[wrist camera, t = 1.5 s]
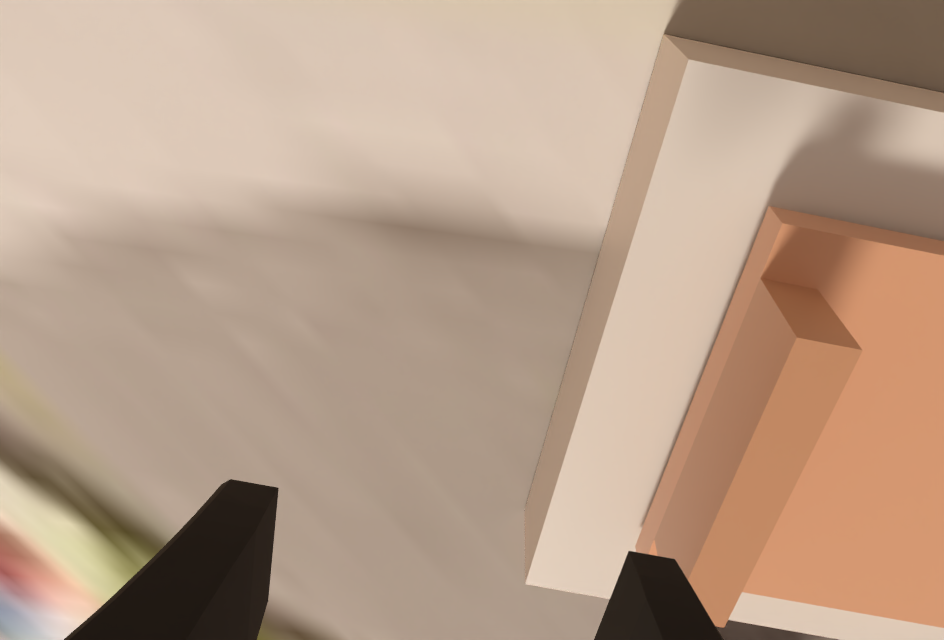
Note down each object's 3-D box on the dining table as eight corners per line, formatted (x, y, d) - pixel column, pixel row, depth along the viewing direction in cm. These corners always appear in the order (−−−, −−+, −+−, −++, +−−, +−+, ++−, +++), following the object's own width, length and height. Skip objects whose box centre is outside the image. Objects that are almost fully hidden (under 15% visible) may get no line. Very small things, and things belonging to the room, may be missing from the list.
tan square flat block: (1209, 294, 14) (1359, 382, 11) (984, 609, 18) (1059, 725, 15) (769, 205, 14) (823, 276, 11) (634, 546, 17) (654, 654, 15)
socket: (1261, 159, 16) (1384, 205, 13) (965, 589, 21) (1016, 670, 19) (663, 34, 15) (689, 59, 13) (524, 509, 21) (525, 583, 19)
